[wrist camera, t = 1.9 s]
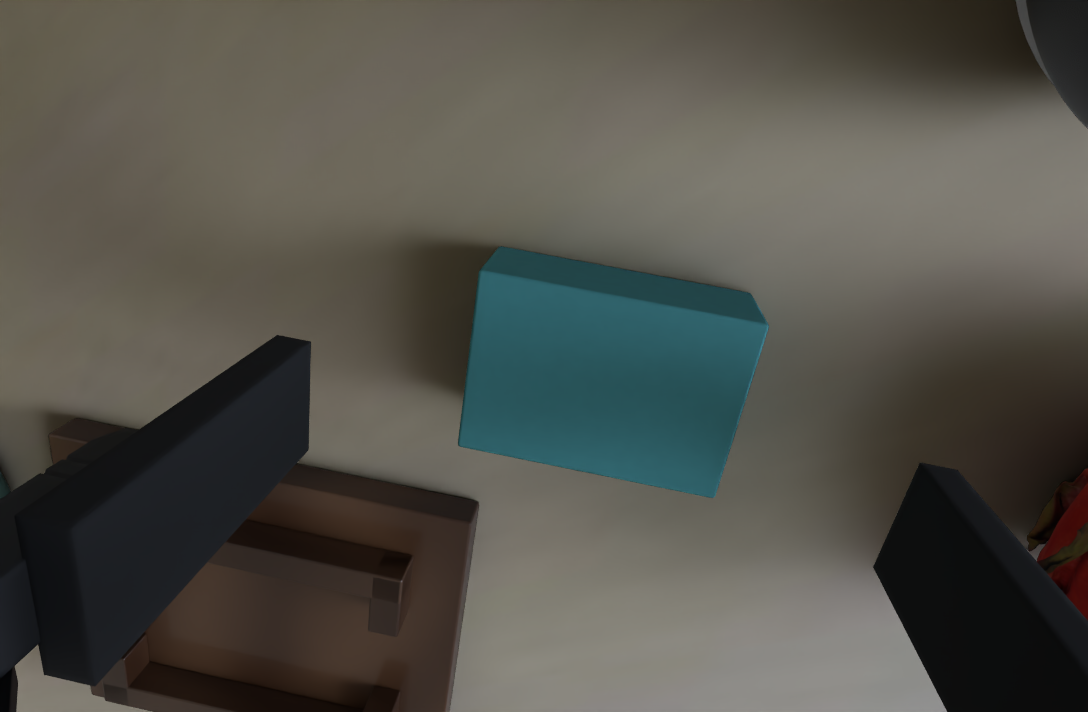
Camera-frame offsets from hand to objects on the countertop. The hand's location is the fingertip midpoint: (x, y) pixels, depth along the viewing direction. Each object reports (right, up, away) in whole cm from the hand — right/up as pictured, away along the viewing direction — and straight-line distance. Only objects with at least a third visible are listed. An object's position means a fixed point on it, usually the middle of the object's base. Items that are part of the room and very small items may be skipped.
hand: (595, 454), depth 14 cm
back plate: (-11, -7, +10) cm, 16 cm away
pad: (+1, +2, +5) cm, 5 cm away
